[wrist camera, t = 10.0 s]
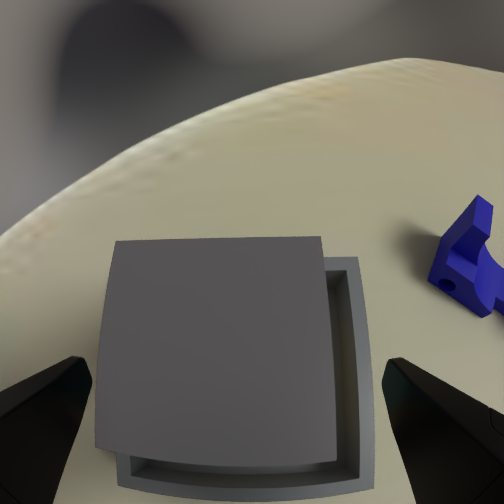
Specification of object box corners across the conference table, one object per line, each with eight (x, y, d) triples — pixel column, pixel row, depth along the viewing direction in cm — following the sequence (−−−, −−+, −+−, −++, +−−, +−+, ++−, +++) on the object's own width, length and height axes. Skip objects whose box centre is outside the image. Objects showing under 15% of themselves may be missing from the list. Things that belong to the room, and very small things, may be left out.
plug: (280, 415, 15) (337, 460, 4) (209, 415, 15) (94, 447, 4) (278, 349, 17) (320, 236, 6) (209, 349, 17) (115, 240, 6)
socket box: (354, 474, 14) (373, 488, 11) (140, 473, 14) (117, 485, 11) (342, 280, 20) (357, 256, 17) (149, 282, 20) (131, 260, 17)
